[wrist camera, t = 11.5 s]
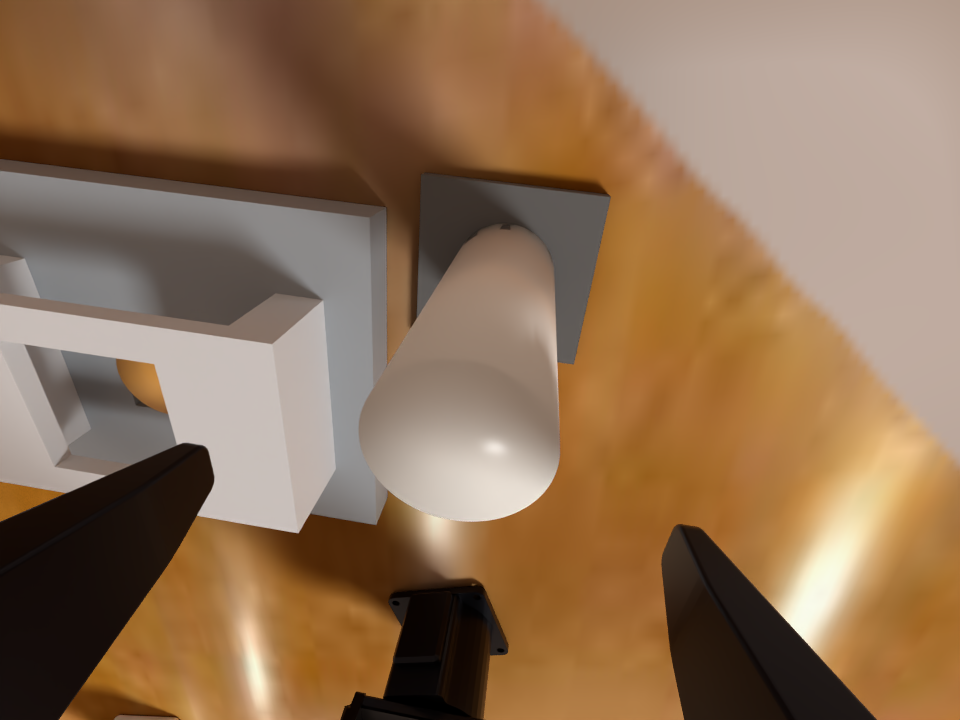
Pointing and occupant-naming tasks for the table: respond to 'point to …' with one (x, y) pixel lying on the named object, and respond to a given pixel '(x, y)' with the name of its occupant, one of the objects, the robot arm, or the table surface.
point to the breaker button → (142, 383)
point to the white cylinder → (473, 386)
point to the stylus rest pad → (543, 210)
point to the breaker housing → (191, 337)
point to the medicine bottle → (143, 718)
